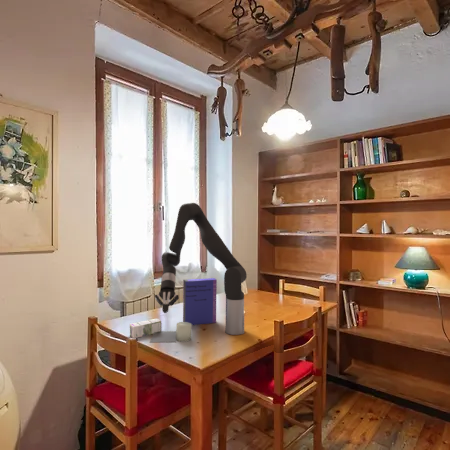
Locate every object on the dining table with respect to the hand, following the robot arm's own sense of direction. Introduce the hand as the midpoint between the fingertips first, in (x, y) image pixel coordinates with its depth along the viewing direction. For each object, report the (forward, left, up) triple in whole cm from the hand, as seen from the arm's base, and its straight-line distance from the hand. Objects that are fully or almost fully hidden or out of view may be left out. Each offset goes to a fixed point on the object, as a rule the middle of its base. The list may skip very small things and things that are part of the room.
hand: (165, 312), depth 172 cm
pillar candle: (-10, +11, -10) cm, 18 cm away
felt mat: (-1, +8, -10) cm, 13 cm away
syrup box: (+3, 0, -6) cm, 7 cm away
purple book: (-17, -14, -10) cm, 24 cm away
